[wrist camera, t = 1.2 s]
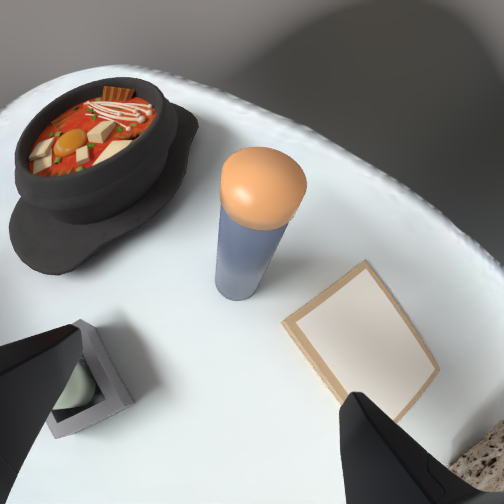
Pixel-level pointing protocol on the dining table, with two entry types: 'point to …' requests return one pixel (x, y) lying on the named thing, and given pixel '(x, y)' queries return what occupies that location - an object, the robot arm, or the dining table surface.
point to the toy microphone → (254, 216)
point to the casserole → (95, 170)
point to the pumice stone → (484, 462)
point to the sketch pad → (363, 343)
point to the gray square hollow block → (106, 380)
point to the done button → (77, 388)
